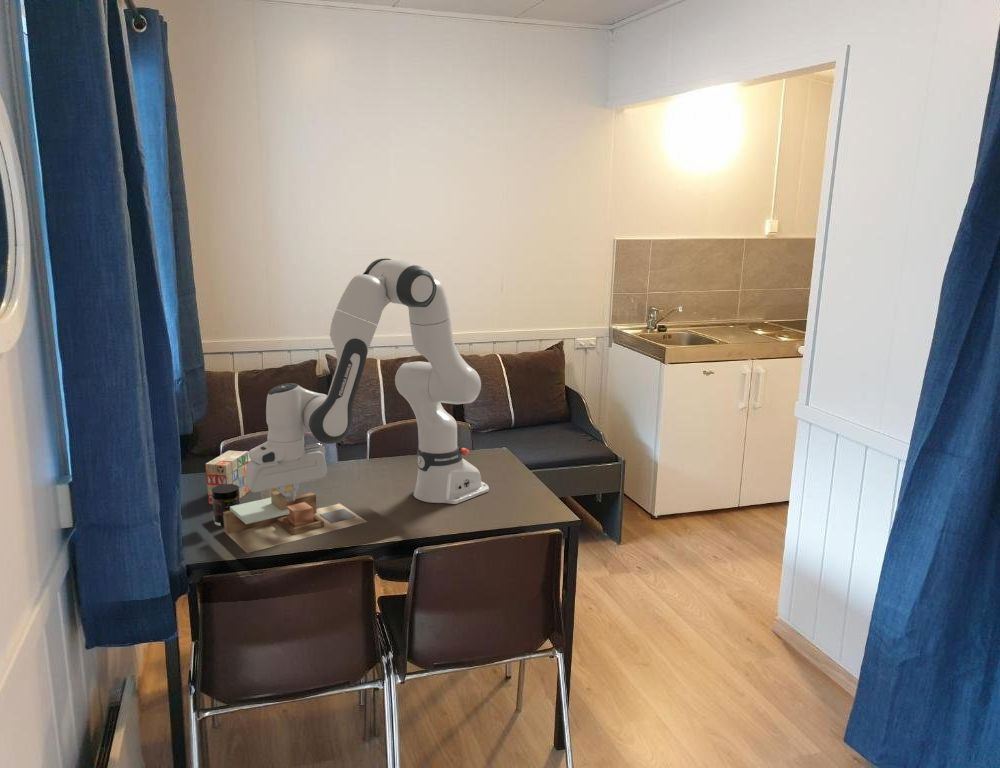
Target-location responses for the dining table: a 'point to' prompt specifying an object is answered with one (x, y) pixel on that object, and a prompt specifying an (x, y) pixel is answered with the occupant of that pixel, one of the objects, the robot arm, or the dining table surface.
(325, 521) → the board
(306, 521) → the block
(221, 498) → the supplement container
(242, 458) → the stack of blocks
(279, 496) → the cover
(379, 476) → the dining table surface
